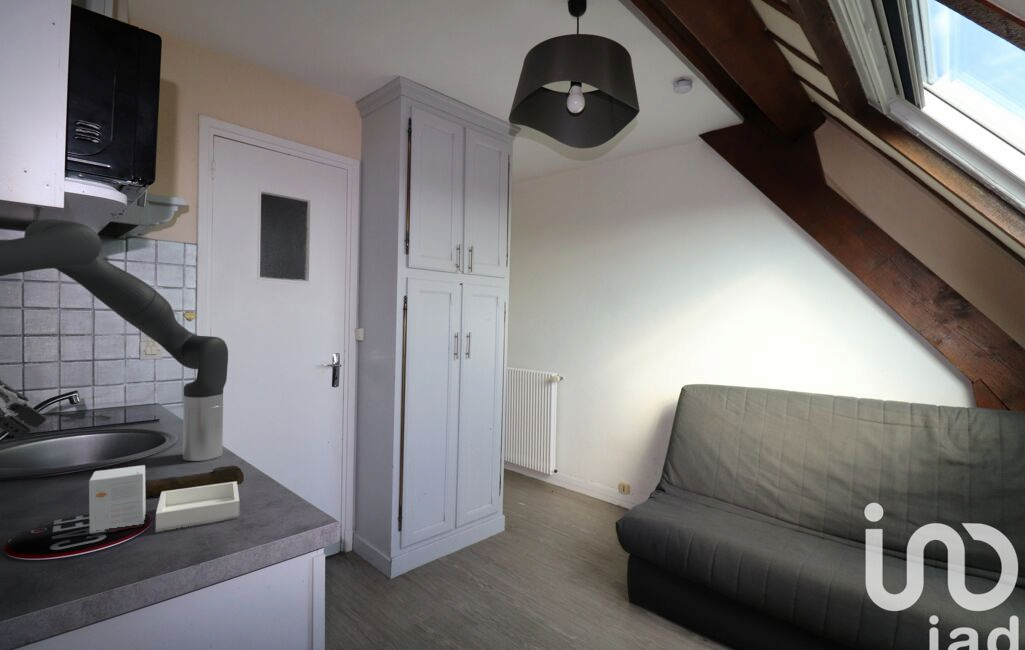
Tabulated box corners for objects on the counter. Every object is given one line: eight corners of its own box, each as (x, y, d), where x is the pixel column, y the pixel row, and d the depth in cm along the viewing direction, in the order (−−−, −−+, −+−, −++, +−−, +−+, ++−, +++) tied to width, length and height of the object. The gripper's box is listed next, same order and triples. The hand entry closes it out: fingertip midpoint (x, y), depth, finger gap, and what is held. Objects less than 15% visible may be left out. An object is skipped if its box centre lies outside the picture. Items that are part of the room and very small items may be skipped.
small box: (146, 516, 97) (146, 464, 97) (143, 527, 93) (144, 472, 92) (93, 525, 93) (93, 470, 93) (88, 537, 88) (88, 479, 88)
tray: (161, 508, 101) (161, 491, 101) (236, 496, 108) (236, 481, 108) (155, 532, 91) (155, 513, 91) (239, 517, 98) (239, 500, 98)
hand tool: (143, 501, 105) (143, 480, 105) (145, 494, 108) (145, 474, 108) (243, 487, 115) (243, 468, 114) (242, 482, 118) (243, 463, 118)
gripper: (-58, 353, 75) (43, 421, 81) (-20, 345, 87) (65, 405, 93) (-111, 390, 72) (-2, 456, 79) (-64, 376, 84) (27, 435, 91)
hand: (34, 428), depth 86 cm, fingers open, 8 cm apart
